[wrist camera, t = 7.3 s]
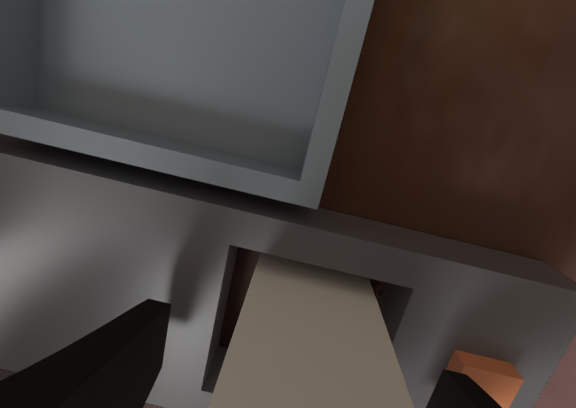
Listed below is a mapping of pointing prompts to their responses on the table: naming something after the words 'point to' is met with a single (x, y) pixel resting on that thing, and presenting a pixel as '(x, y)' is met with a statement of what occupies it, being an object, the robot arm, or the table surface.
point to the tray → (187, 85)
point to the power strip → (220, 265)
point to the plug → (309, 343)
